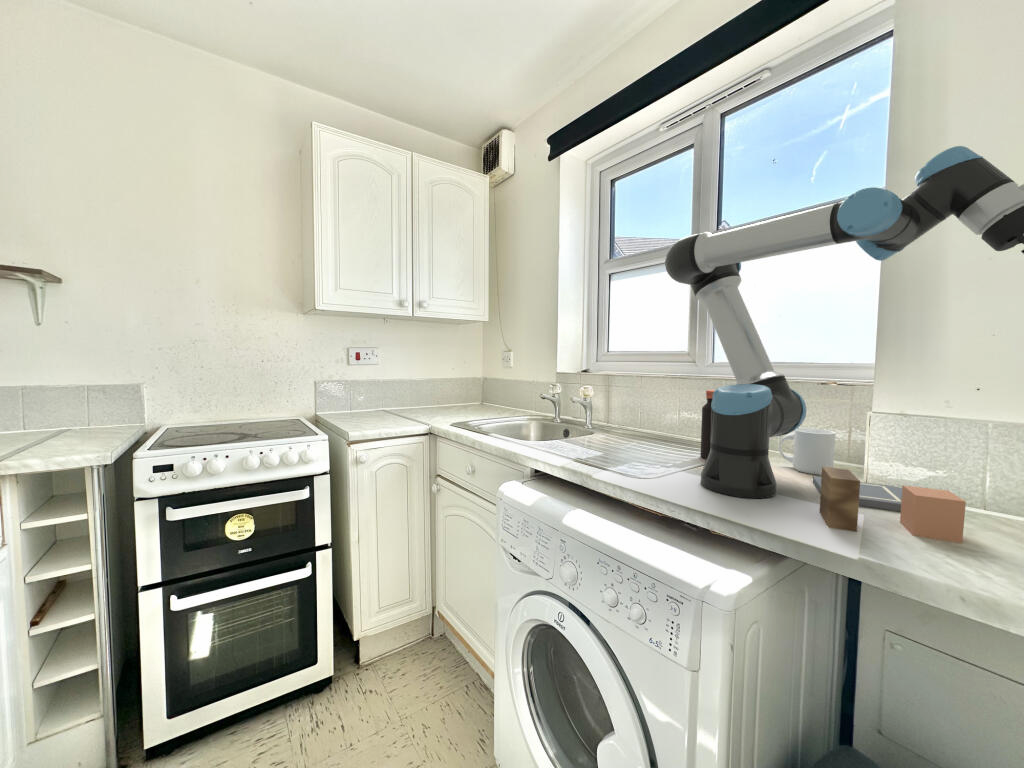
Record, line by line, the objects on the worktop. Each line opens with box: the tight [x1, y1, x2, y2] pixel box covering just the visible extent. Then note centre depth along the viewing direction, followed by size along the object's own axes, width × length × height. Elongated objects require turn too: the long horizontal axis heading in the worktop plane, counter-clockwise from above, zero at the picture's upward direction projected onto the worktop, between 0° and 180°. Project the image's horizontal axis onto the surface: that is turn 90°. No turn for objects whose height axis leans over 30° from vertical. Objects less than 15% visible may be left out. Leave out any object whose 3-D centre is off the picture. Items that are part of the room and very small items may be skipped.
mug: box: [778, 427, 836, 476], centre depth 109 cm, size 9×12×11 cm
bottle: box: [700, 389, 716, 460], centre depth 120 cm, size 7×7×20 cm
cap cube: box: [899, 484, 967, 544], centre depth 70 cm, size 6×6×7 cm
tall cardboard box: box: [819, 467, 861, 533], centre depth 74 cm, size 4×8×9 cm, turn 152°
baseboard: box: [812, 476, 902, 513], centre depth 87 cm, size 18×14×2 cm
